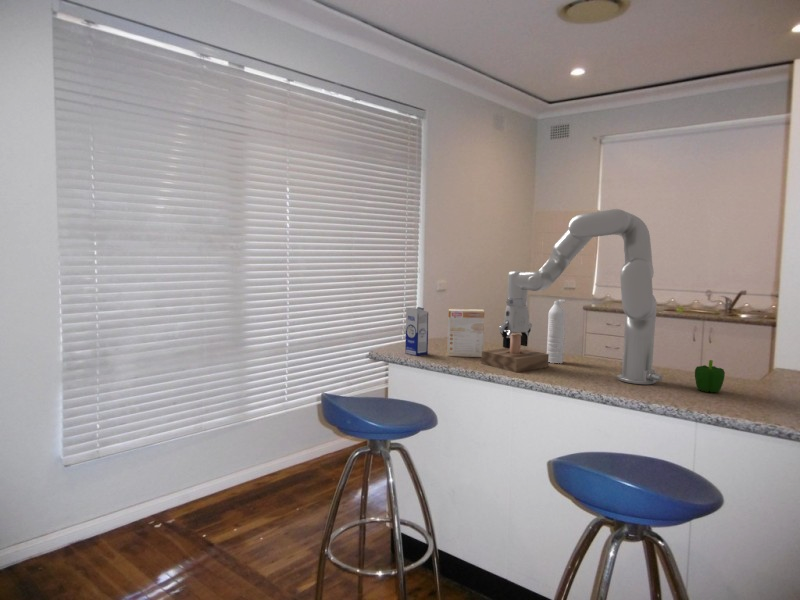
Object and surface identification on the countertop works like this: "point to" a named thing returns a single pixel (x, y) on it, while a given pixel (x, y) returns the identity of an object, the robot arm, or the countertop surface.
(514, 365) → the socket block
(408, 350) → the milk carton
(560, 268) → the robot arm
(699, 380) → the bell pepper
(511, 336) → the peg
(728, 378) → the countertop surface
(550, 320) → the water bottle
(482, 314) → the coffeecake box
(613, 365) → the countertop surface
